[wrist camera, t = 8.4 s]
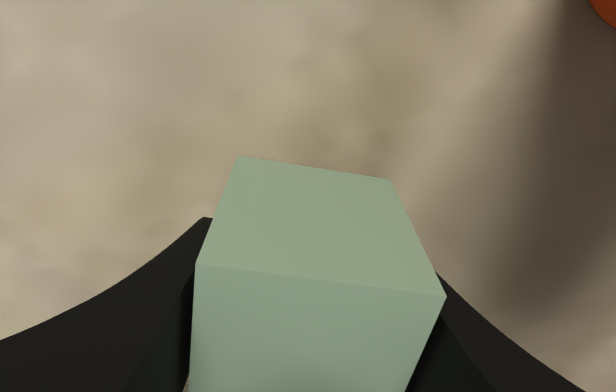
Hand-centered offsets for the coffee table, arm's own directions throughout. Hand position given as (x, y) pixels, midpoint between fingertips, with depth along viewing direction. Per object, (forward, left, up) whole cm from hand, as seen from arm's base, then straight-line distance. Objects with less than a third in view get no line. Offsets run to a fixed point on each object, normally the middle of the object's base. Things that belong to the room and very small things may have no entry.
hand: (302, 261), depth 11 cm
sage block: (0, 0, -2) cm, 2 cm away
